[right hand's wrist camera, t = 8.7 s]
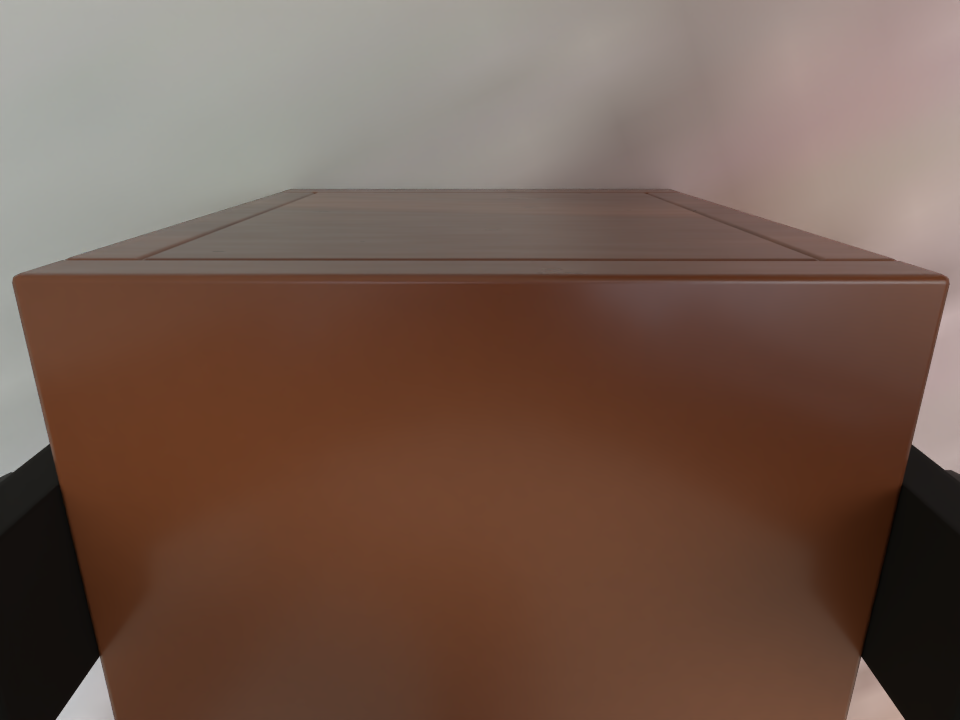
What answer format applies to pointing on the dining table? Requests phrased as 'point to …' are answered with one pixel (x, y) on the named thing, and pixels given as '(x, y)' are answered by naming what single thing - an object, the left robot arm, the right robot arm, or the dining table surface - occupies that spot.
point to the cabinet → (480, 455)
